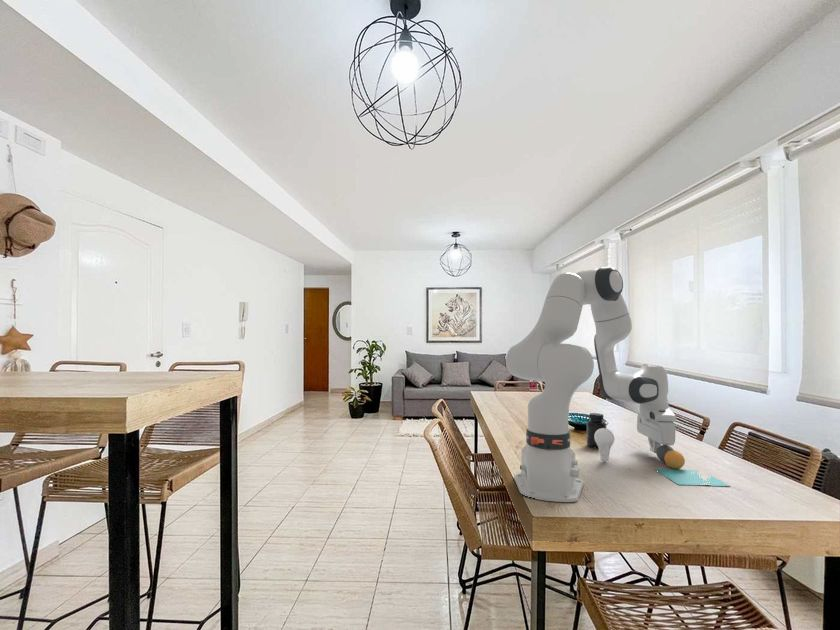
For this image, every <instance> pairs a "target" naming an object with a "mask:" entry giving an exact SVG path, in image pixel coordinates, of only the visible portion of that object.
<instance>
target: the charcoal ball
mask: <svg viewBox="0 0 840 630" xmlns="http://www.w3.org/2000/svg"><path fill="white" fill-rule="evenodd" d="M672 450H674V448H673V446H671V445H662V444H661V446H659V447H658V448H657V450H656V453H655V455H656V456H657V458H658V459H659V460H660V461H661V462H663V463H666V462H665V459H664V457H665V454H666V453H667V452H668V451H672Z"/></svg>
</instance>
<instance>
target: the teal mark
mask: <svg viewBox="0 0 840 630" xmlns="http://www.w3.org/2000/svg"><path fill="white" fill-rule="evenodd" d="M653 470H654V471H656V472H657V471H658V472H657V473H658V474H660V473H661V474H660V475H662V476H663V475H664V476H663V477H665V476H666V477H667V478H666V477H665V478H666V479H668V478H669V479H668V480H669V481H671V480H672V481H671V482H672V483H674V482H675V483H674V484H676V485H677V484H678V486H690V485H700V484H701V485H702V484H703V483H707V482H708V483H707V485H708V484H710V485H711V486H710V487H720V486H731V485H729V484H727V483H726V482H724V481H722V480H721V479H719V478H716V477H714V476H713V475H711V478H710V477H709V478H710V479H709V478H707V481H705V480H704V481H703V479H702V478H699V474H698V473H697V470H698V469H681V468H679V469H673V468H653ZM692 470H693V471H692ZM695 470H696V471H695ZM694 471H695V473H694V474H693V472H694ZM691 472H692V474H691ZM697 474H698V475H697ZM701 475H702V474H701ZM701 475H700V477H701ZM708 479H709V481H708ZM709 482H710V483H709ZM703 485H704V484H703ZM705 485H706V484H705Z"/></svg>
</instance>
